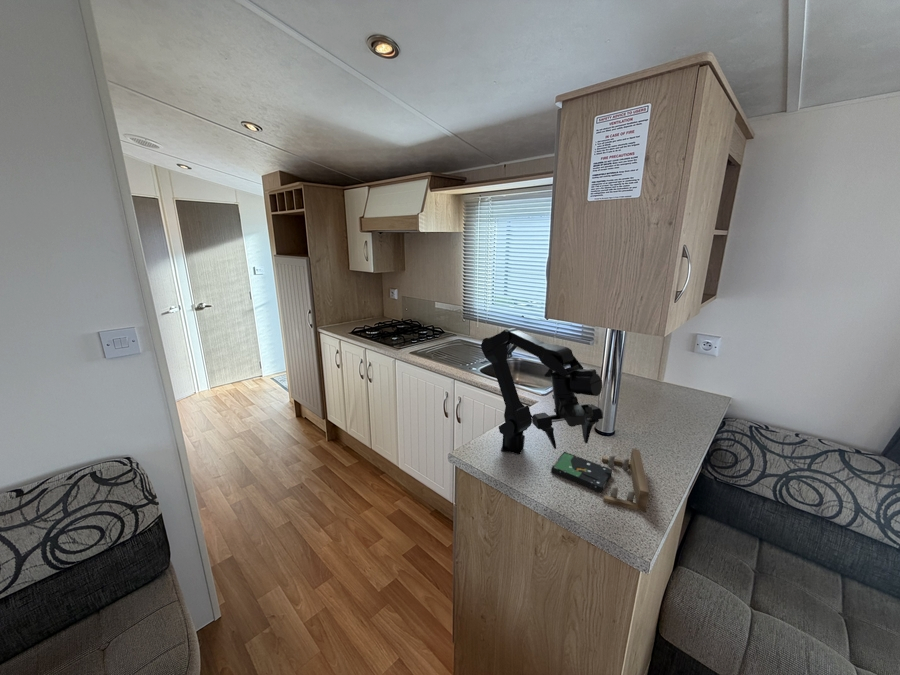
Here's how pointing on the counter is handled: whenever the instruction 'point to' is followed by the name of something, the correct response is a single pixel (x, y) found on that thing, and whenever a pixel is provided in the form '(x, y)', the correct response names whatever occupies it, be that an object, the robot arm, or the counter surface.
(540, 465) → the counter surface
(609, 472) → the disk drive
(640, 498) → the drive tray
